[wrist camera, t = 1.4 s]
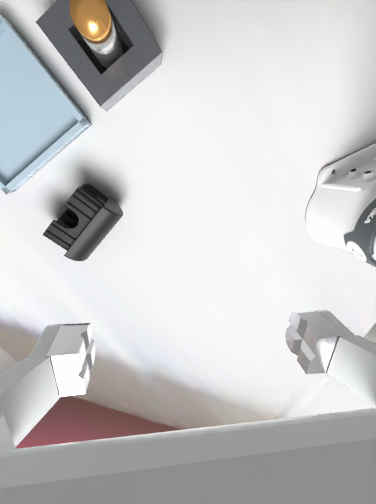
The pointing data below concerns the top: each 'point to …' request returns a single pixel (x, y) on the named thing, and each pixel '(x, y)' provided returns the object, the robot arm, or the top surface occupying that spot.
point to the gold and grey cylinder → (97, 29)
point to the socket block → (124, 69)
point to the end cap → (84, 222)
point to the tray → (30, 112)
